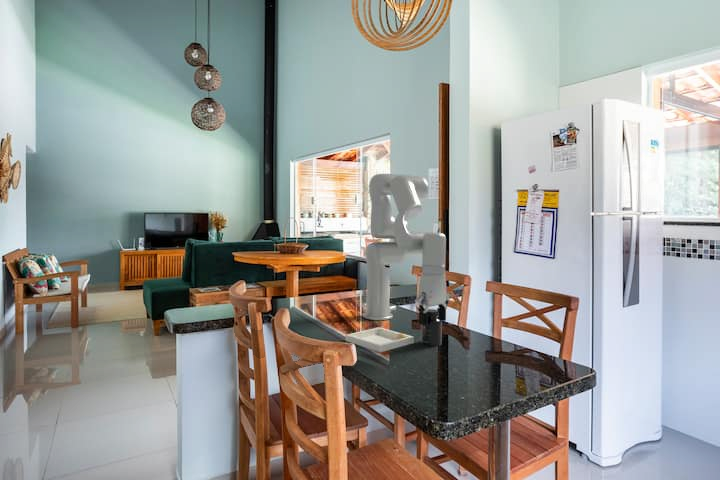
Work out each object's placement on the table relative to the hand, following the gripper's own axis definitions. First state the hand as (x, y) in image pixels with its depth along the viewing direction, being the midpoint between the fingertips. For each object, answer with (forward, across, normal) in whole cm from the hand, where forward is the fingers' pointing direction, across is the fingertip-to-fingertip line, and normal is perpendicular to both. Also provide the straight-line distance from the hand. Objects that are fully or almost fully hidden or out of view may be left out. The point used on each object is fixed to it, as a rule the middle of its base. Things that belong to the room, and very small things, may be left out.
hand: (432, 322), depth 149 cm
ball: (+7, +7, -8) cm, 12 cm away
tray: (+8, +12, -13) cm, 19 cm away
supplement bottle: (+8, 0, -1) cm, 8 cm away
